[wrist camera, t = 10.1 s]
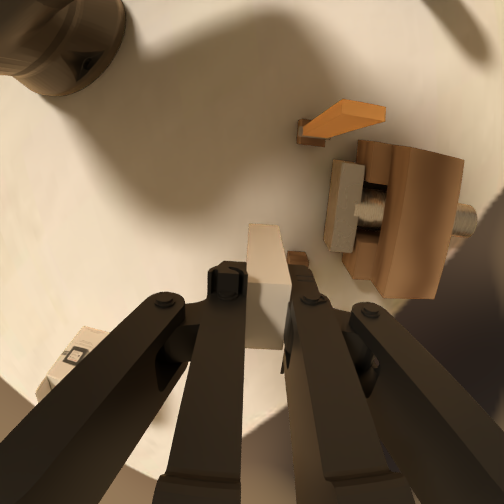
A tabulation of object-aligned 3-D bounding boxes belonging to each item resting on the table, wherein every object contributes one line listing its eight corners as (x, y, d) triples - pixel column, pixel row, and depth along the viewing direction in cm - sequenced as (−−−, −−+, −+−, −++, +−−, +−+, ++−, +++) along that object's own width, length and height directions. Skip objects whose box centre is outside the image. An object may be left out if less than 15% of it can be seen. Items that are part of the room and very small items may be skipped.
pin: (322, 239, 36) (330, 251, 32) (332, 159, 33) (342, 162, 29) (451, 250, 36) (467, 262, 32) (465, 182, 33) (483, 188, 29)
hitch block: (284, 263, 37) (292, 301, 29) (298, 120, 32) (312, 115, 23) (400, 270, 37) (431, 305, 29) (422, 141, 32) (466, 146, 23)
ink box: (116, 375, 44) (81, 446, 31) (88, 367, 44) (49, 433, 30) (112, 332, 41) (68, 405, 28) (82, 323, 41) (32, 390, 27)
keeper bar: (336, 114, 15) (337, 96, 15) (297, 136, 29) (298, 126, 29) (390, 124, 15) (390, 106, 15) (328, 140, 29) (329, 130, 29)
